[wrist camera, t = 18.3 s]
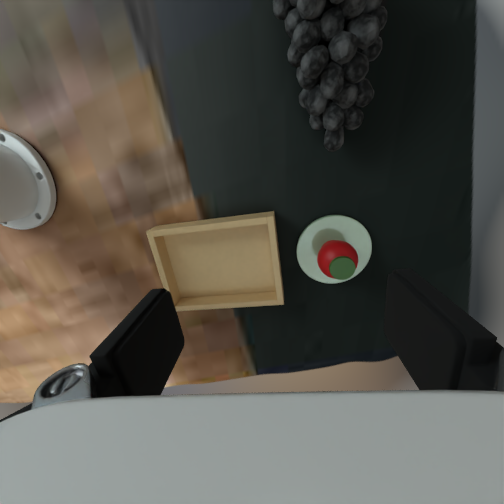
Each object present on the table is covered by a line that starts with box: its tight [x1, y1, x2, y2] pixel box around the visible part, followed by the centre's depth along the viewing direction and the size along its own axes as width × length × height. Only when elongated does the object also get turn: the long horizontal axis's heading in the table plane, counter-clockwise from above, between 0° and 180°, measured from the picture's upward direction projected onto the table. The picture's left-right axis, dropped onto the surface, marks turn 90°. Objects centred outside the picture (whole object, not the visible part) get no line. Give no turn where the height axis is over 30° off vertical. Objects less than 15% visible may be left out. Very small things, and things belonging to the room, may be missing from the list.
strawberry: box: [317, 240, 358, 280], centre depth 27 cm, size 4×4×5 cm
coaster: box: [296, 215, 372, 283], centre depth 30 cm, size 9×9×1 cm
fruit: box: [273, 0, 387, 151], centre depth 20 cm, size 9×8×15 cm
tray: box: [146, 211, 284, 311], centre depth 31 cm, size 16×12×3 cm
